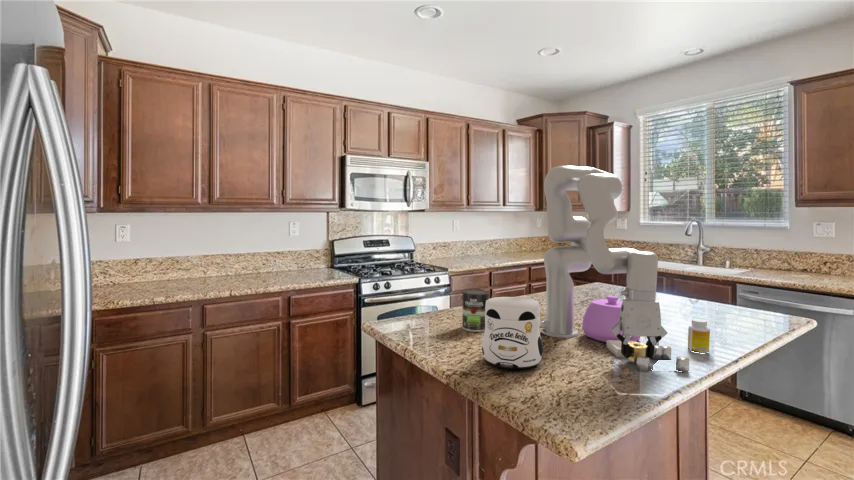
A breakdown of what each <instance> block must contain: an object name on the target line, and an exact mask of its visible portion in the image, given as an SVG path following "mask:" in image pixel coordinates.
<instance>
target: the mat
mask: <svg viewBox="0 0 854 480" xmlns="http://www.w3.org/2000/svg"><path fill="white" fill-rule="evenodd" d="M614 356H615V357H617V356H616V355H614ZM617 359H619V360H620V361H621V362H622V363H623V364H624V365H625V366H626V367H628V368H629V370H631V371H632V372H639V371H638V370H637V369H636V364H637V362H634V361H632V360H630V359H627V358H625V357H617ZM657 361H658V360H654V359H649V371H651V372H652V370H653V365H654V364H655V363H656V362H657ZM651 369H652V370H651ZM649 371H648V372H649ZM648 372H647V373H648Z"/></svg>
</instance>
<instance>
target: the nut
mask: <svg viewBox="0 0 854 480" xmlns="http://www.w3.org/2000/svg"><path fill="white" fill-rule="evenodd" d="M628 344H629V345H630V351H629V358H627V359H630V360H632V361H634V362H637V356H646V357H648V345H646V343H642V342H641V341H640V342H638V341H637V342H629V343H628Z"/></svg>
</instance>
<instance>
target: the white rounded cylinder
mask: <svg viewBox="0 0 854 480" xmlns="http://www.w3.org/2000/svg"><path fill="white" fill-rule="evenodd" d="M540 306H541V305H540V302H538V301H537V300H535V299H531V298H527V297H518V296H497V297H491V298H489V299H488V300H486V305H485V331H483V332H484V333H483V336H482V340H481V351H482V356H483V359H484V360H485V361H486V362H487V363H489V364H491V365H492V366H494V367H498V368H502V369H509V370H525V369H531V368H533V367H535V366H537V365H539V364H540V362H541V360H542V357H543V354H544V353H543V351H544V348H543V347H544V346H543V341H542V337H541V332H540V329H541V328H540V322H541V317H540V315H541V309H540V308H541V307H540Z"/></svg>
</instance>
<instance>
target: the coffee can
mask: <svg viewBox="0 0 854 480" xmlns="http://www.w3.org/2000/svg"><path fill="white" fill-rule="evenodd" d="M461 293H462V317H461V318H462V320H461V322H462V325H461V326H462V327H461V328H462V329H463V330H464V331H466V332H472V333H473V332H475V333H483V332H485V305H486V300H488V299H490V293H491V292H490V291H489V290H485V289H465V290H463V291H462V292H461Z"/></svg>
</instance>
